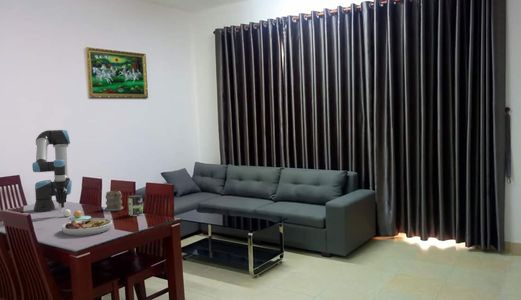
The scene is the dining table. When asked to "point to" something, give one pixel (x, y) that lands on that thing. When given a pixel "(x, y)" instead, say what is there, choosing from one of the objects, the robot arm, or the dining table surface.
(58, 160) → the robot arm
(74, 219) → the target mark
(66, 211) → the cue ball
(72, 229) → the bowl
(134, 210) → the coffee can
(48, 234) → the dining table surface
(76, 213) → the object ball
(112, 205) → the tankard
